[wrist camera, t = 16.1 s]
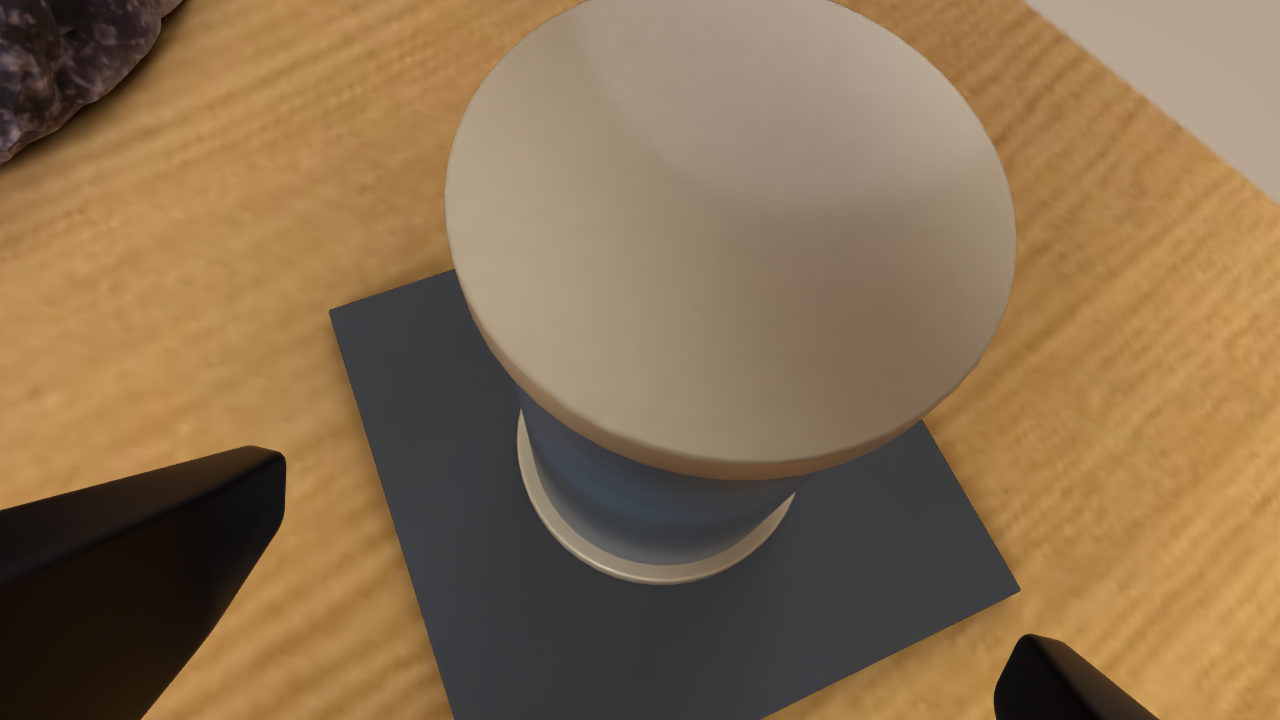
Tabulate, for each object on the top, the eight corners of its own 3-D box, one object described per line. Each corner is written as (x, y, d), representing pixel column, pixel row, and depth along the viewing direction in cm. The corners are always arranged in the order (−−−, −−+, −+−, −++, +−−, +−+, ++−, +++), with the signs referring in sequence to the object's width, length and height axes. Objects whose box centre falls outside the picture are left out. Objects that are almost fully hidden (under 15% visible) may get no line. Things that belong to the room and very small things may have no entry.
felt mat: (1012, 592, 16) (1023, 590, 15) (496, 845, 13) (494, 850, 13) (770, 173, 19) (773, 163, 19) (333, 317, 17) (327, 309, 17)
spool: (677, 651, 14) (797, 609, 6) (459, 452, 16) (316, 196, 7) (850, 430, 16) (1118, 175, 8) (644, 269, 18) (693, -98, 9)
